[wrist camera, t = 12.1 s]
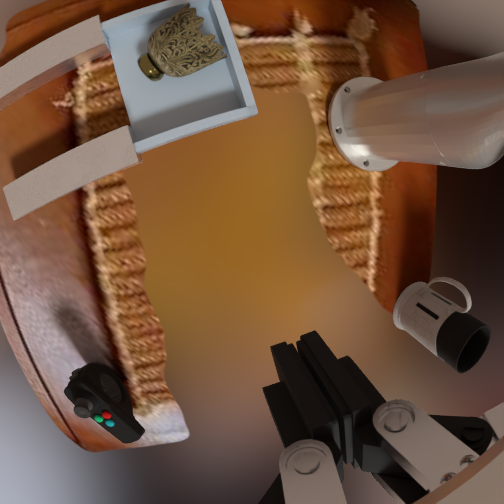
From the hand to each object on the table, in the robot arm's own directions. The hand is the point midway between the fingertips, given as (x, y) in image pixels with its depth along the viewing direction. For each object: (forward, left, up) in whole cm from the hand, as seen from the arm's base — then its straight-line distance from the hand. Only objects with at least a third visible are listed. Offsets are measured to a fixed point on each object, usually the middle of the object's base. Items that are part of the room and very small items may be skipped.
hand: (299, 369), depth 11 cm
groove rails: (+13, -18, -27) cm, 35 cm away
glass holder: (-26, +21, -27) cm, 42 cm away
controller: (+21, +16, -27) cm, 38 cm away
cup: (+3, -18, -24) cm, 31 cm away
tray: (-1, -18, -27) cm, 32 cm away
